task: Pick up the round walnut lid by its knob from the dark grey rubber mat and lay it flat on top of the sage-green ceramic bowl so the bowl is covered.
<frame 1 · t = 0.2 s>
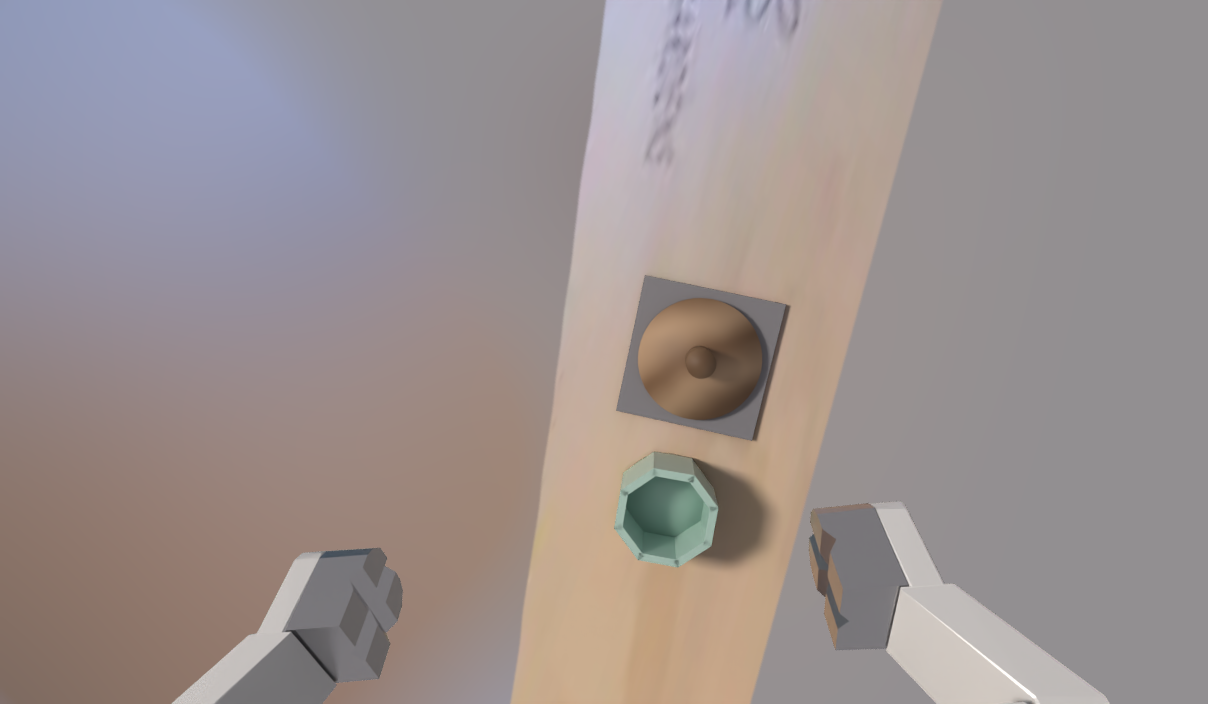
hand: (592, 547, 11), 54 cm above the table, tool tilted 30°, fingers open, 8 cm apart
walnut lid: (699, 358, 64), resting on rubber mat
ceramic bowl: (665, 496, 67), on the table
rubber mat: (698, 358, 64), on the table
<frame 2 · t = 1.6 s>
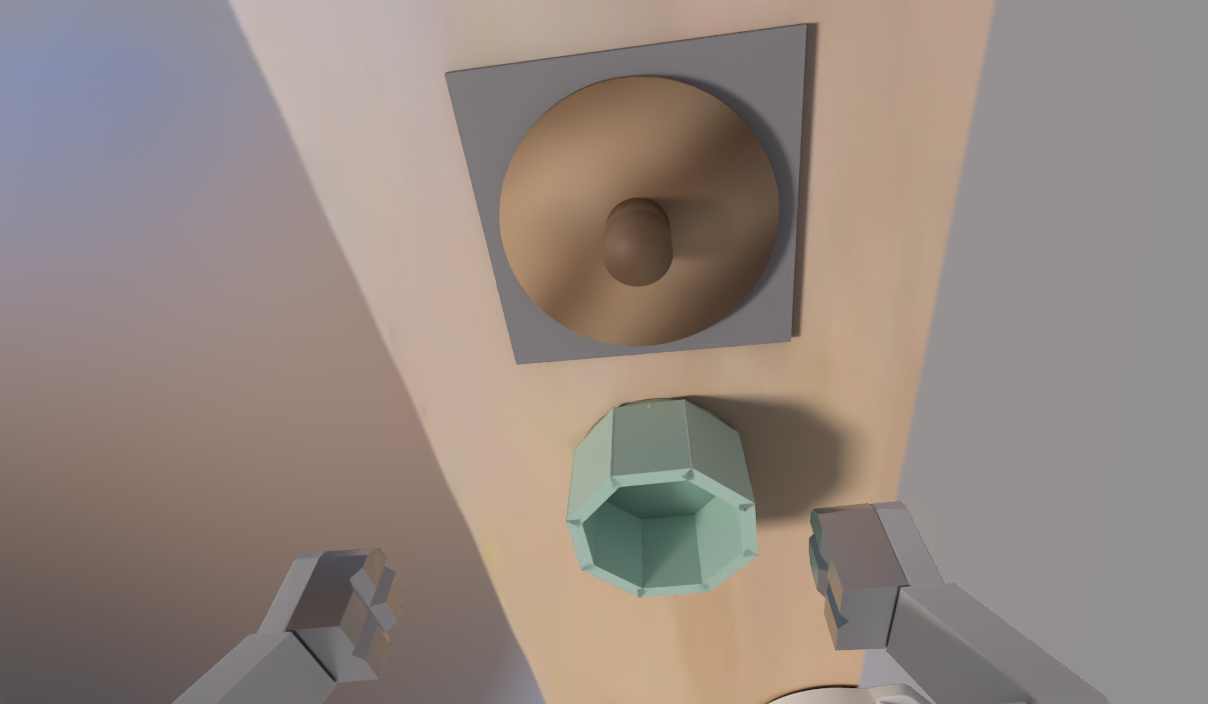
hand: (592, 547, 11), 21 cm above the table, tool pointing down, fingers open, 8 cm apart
walnut lid: (637, 222, 29), resting on rubber mat
ceramic bowl: (659, 461, 38), on the table
rubber mat: (637, 219, 29), on the table
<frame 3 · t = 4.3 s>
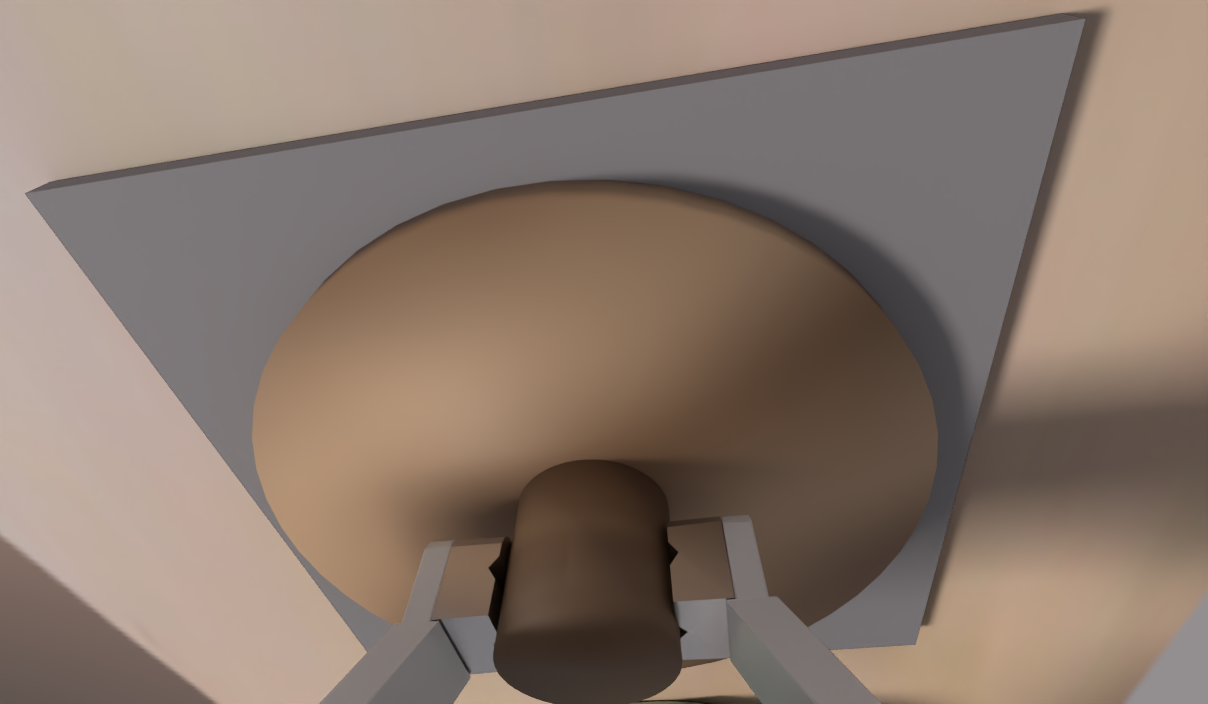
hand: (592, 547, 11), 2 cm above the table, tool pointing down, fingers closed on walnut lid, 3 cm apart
walnut lid: (594, 482, 13), resting on rubber mat, touching gripper
rubber mat: (595, 464, 13), on the table
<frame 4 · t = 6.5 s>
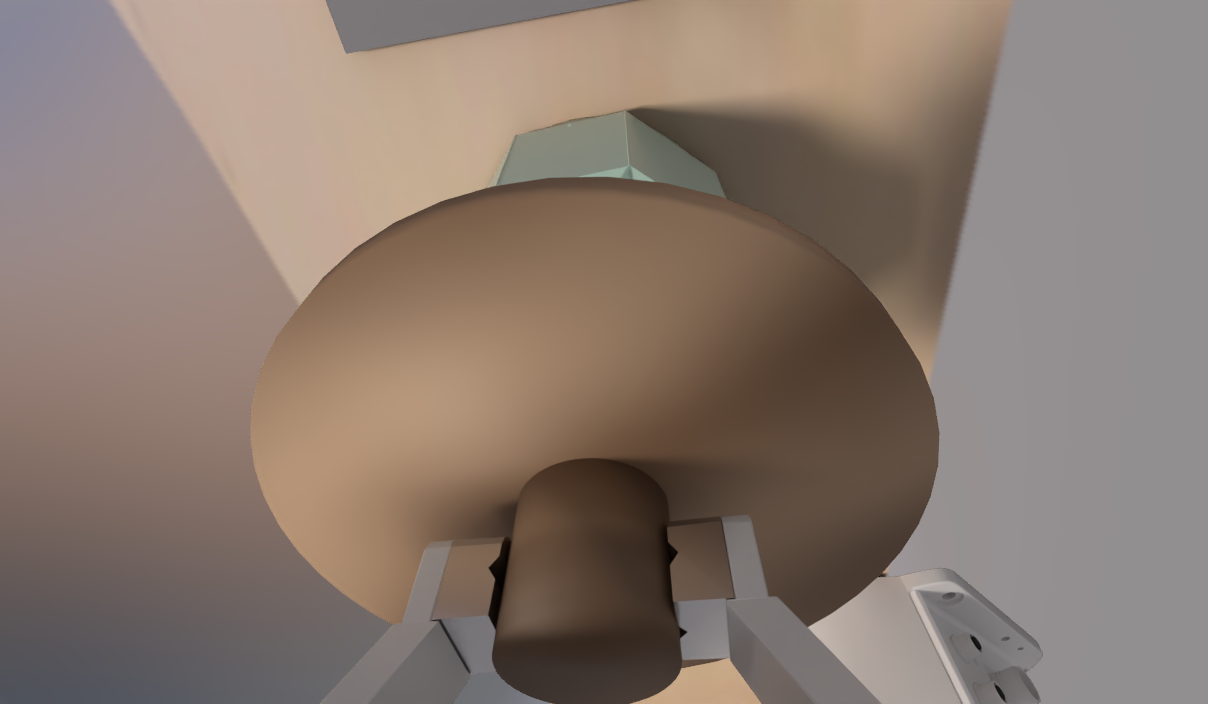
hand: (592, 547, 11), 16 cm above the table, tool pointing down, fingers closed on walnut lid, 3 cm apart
walnut lid: (594, 481, 13), point 15 cm above the table, touching gripper
ceramic bowl: (599, 239, 25), on the table
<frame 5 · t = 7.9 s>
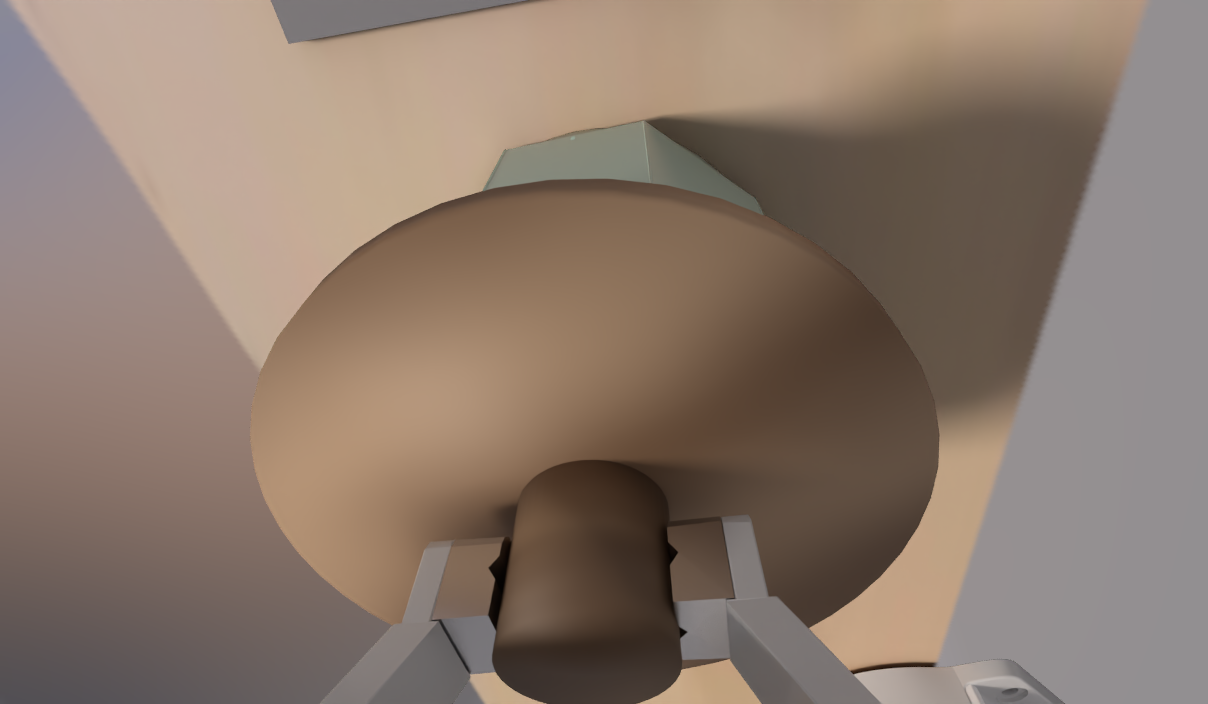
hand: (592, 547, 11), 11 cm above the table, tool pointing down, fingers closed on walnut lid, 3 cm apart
walnut lid: (594, 482, 13), point 9 cm above the table, touching gripper
ceramic bowl: (608, 279, 20), on the table
when the fingers open (9 cm above the table, at t = 9.0 s): walnut lid stays where it is, resting on ceramic bowl.
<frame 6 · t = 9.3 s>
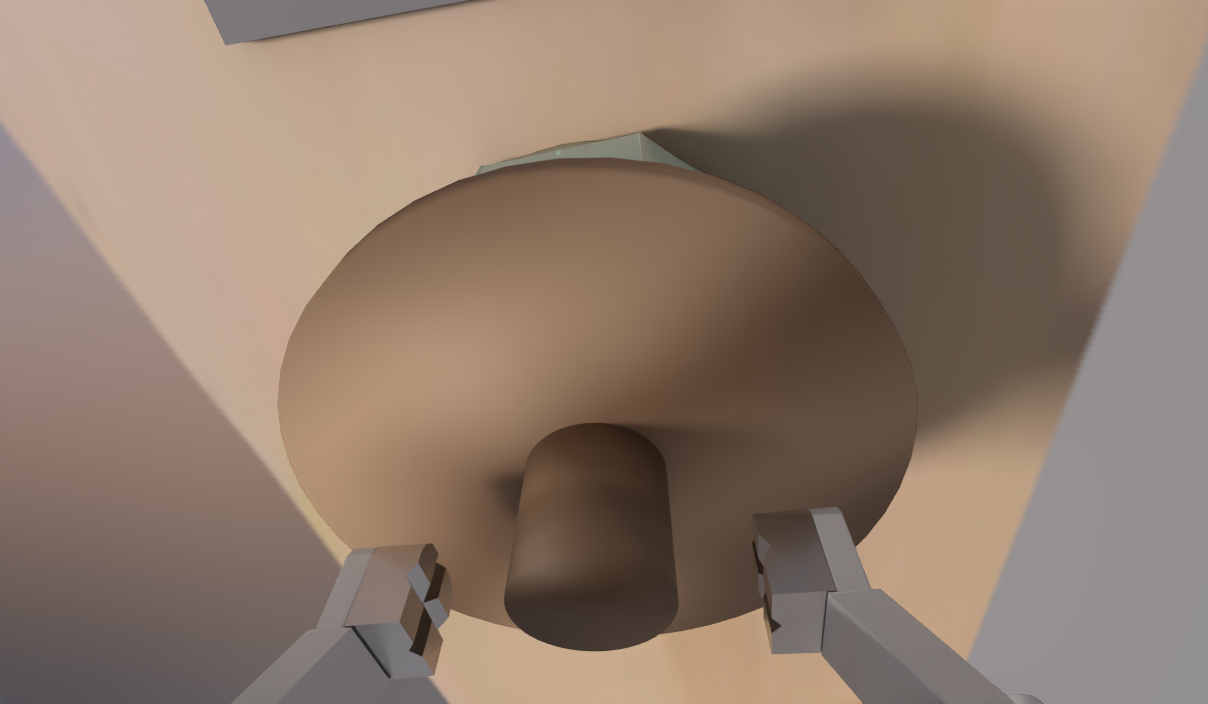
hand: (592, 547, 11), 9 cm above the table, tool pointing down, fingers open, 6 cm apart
walnut lid: (597, 448, 13), point 6 cm above the table, touching ceramic bowl
ceramic bowl: (601, 307, 18), on the table
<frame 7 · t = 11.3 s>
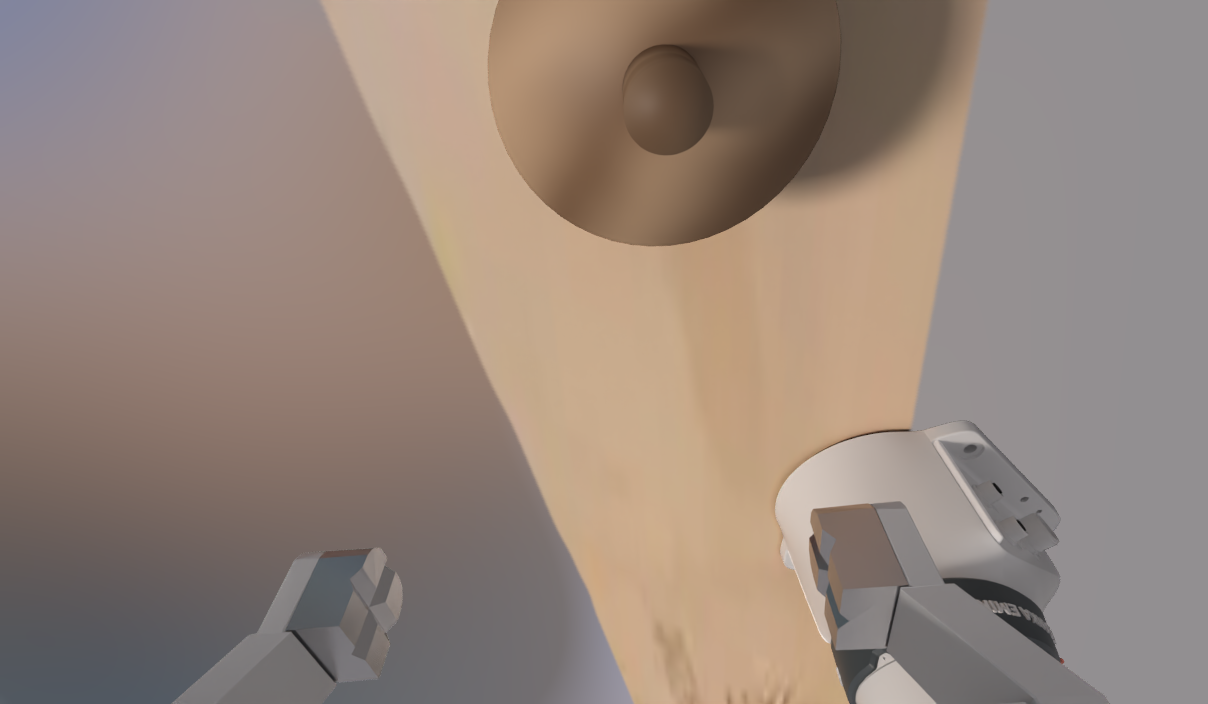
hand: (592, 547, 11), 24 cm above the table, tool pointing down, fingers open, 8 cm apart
walnut lid: (660, 83, 23), point 6 cm above the table, touching ceramic bowl
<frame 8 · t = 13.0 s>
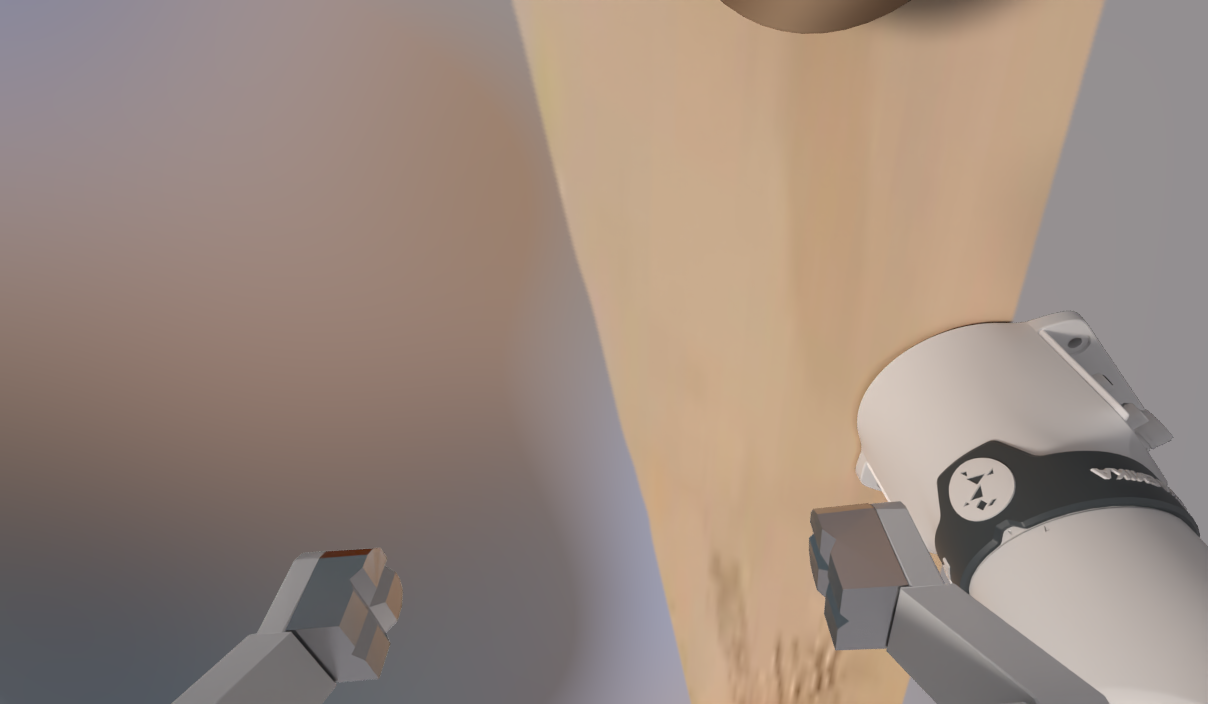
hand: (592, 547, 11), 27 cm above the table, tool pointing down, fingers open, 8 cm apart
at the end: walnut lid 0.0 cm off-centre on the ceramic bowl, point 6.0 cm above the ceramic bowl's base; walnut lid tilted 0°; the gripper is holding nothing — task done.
